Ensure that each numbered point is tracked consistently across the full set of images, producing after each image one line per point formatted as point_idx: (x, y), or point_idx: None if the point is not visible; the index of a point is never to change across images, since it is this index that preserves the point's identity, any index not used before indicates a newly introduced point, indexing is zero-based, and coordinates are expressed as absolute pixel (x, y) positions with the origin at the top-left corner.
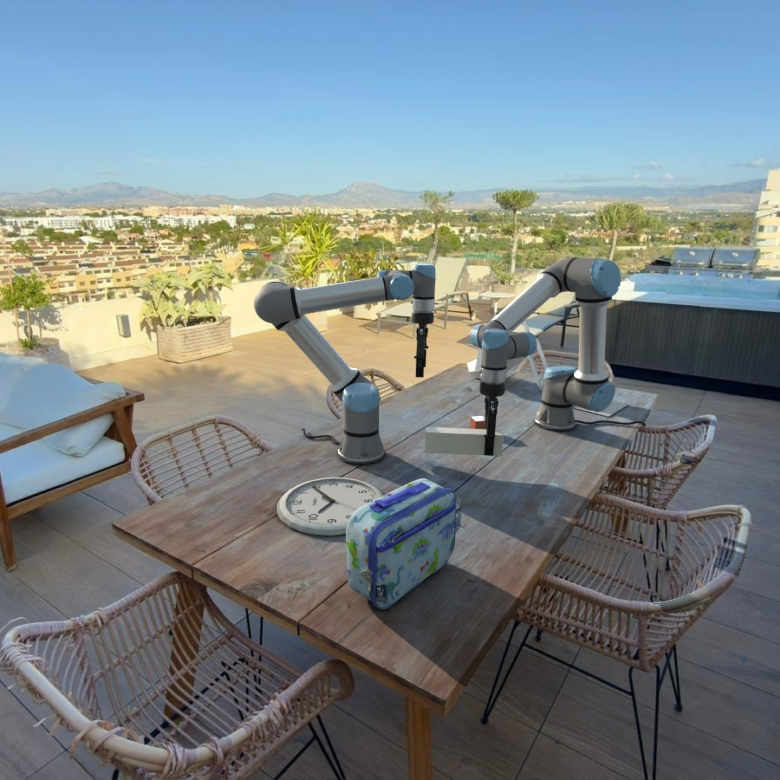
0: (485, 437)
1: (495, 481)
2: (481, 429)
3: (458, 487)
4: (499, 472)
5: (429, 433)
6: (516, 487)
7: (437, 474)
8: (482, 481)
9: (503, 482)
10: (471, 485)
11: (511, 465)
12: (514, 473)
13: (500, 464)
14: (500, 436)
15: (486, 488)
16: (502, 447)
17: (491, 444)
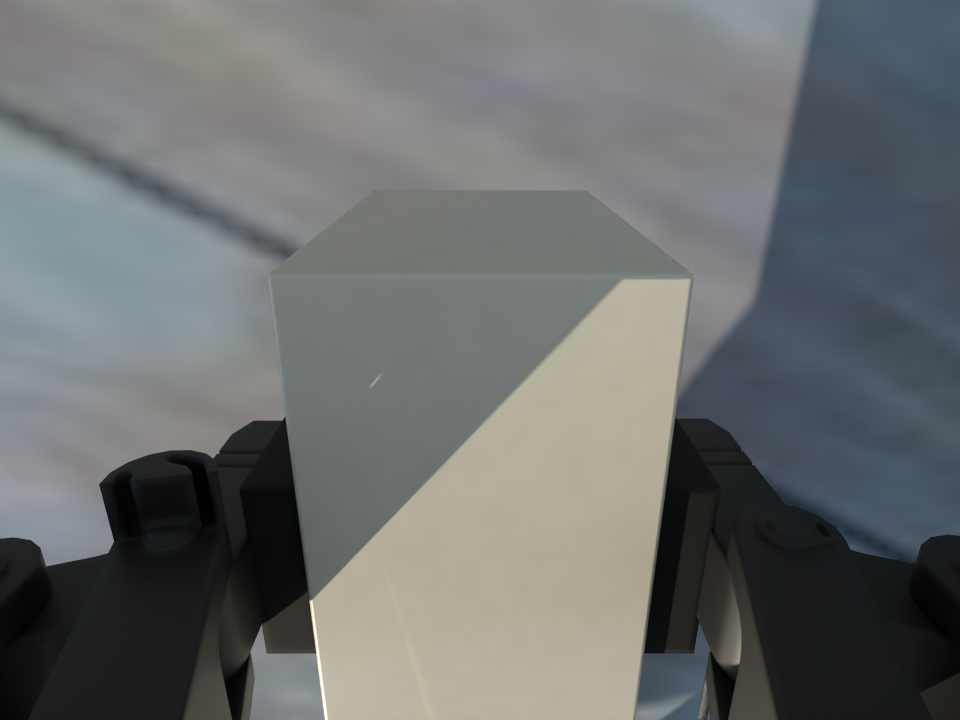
0: (680, 628)
1: (785, 244)
2: (346, 717)
3: (886, 553)
4: (575, 186)
5: None
6: (937, 21)
7: (658, 683)
8: (783, 366)
9: (810, 162)
10: (857, 459)
11: (368, 20)
12: (584, 5)
13: (368, 157)
14: (679, 342)
15: (926, 339)
16: (615, 216)
17: (735, 458)
